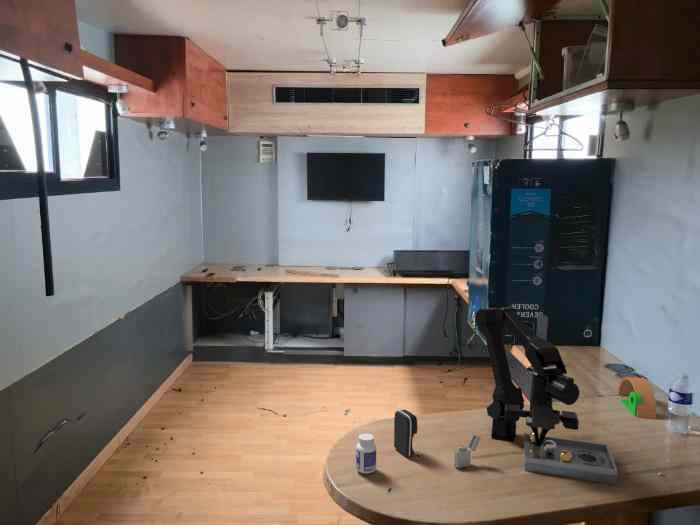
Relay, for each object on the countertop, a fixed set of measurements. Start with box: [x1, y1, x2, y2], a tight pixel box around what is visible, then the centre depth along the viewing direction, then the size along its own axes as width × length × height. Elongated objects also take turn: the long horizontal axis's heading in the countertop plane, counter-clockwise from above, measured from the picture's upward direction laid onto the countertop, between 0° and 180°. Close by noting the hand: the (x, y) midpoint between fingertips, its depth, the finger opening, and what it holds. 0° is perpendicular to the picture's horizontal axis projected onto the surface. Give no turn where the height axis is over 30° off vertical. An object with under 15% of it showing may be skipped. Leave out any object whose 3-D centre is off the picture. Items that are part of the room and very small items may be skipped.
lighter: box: [453, 433, 482, 469], centre depth 142 cm, size 7×2×8 cm, turn 111°
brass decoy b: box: [559, 450, 573, 463], centre depth 139 cm, size 3×3×3 cm
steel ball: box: [544, 440, 557, 453], centre depth 144 cm, size 3×3×3 cm
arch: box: [616, 376, 657, 420], centre depth 182 cm, size 6×20×10 cm, turn 170°
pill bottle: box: [355, 433, 377, 474], centre depth 139 cm, size 5×5×9 cm
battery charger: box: [393, 409, 418, 457], centre depth 149 cm, size 7×4×11 cm, turn 30°
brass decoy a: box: [529, 430, 540, 443], centre depth 150 cm, size 3×3×3 cm
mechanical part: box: [620, 392, 642, 417], centre depth 179 cm, size 12×6×8 cm, turn 172°
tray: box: [523, 432, 619, 486], centre depth 143 cm, size 22×15×4 cm
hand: (538, 446), depth 145 cm, fingers closed
